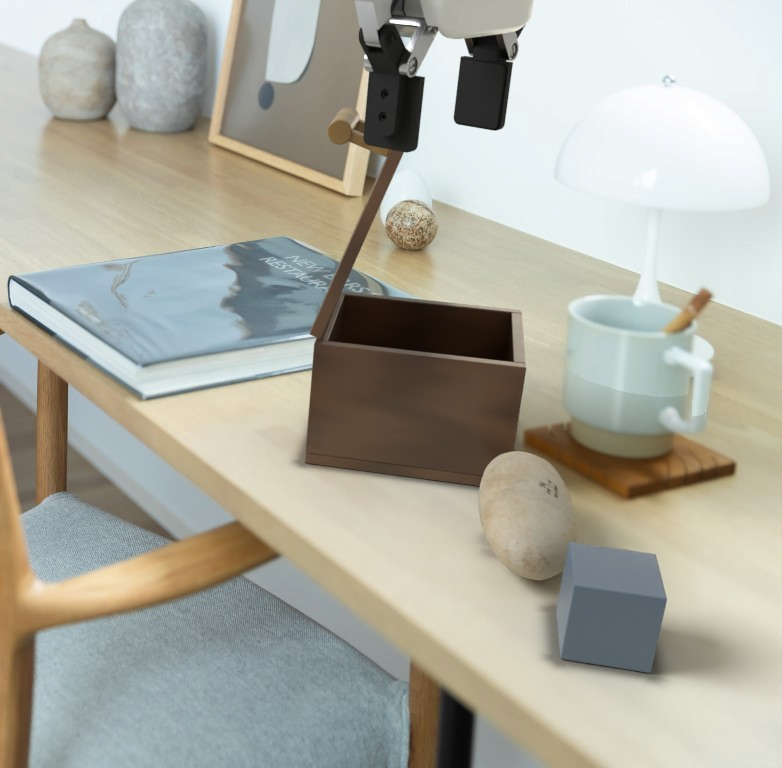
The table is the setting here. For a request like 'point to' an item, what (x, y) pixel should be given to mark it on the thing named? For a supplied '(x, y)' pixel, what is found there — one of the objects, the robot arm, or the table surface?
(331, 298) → the lid
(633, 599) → the block
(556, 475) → the stone
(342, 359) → the keepsake box
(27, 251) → the table surface
